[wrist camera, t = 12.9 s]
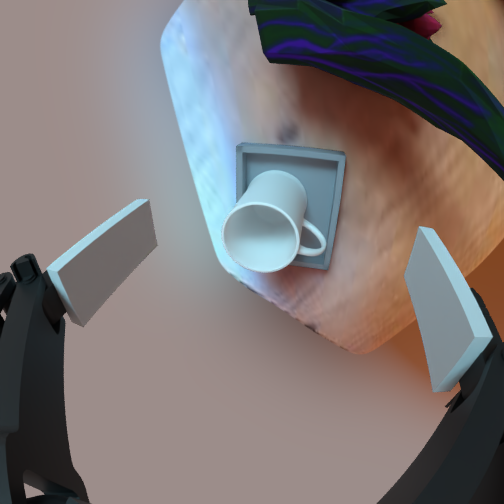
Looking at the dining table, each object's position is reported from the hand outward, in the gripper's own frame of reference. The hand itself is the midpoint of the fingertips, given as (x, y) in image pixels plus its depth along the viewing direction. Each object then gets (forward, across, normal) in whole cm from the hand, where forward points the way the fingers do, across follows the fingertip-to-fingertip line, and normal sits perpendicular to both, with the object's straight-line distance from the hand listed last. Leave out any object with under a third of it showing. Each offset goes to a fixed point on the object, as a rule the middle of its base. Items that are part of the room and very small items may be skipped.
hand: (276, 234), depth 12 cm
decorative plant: (+26, +10, +16) cm, 32 cm away
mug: (+25, -2, -8) cm, 26 cm away
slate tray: (+25, -2, -8) cm, 27 cm away
